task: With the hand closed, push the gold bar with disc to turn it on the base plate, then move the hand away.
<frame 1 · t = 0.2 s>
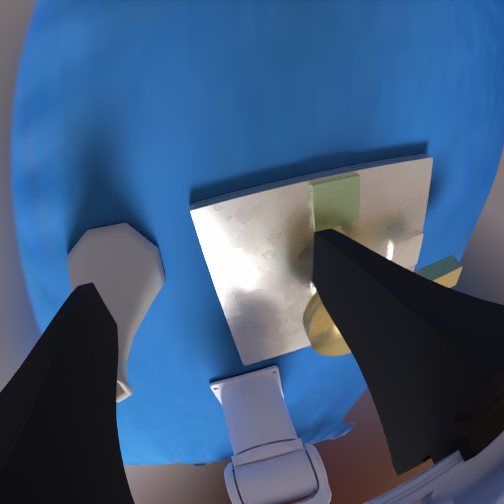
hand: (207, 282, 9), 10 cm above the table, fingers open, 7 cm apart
flask: (116, 264, 20), on the table
gold bar with disc: (382, 286, 22), point 4 cm above the table, hinge at 0.0°
base plate: (329, 268, 24), on the table
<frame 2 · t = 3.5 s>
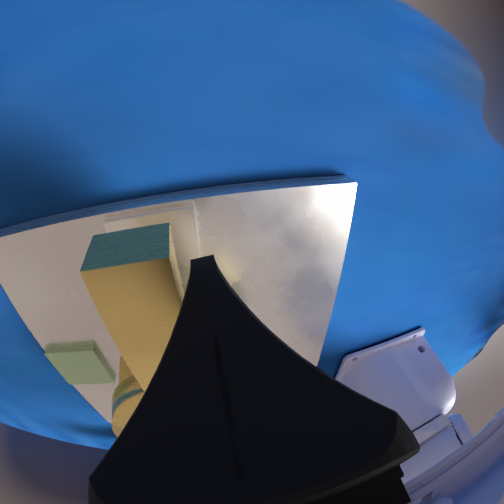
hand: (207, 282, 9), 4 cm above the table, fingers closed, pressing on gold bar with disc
gold bar with disc: (178, 363, 12), point 4 cm above the table, hinge at 0.1°, touching gripper
base plate: (184, 341, 17), on the table
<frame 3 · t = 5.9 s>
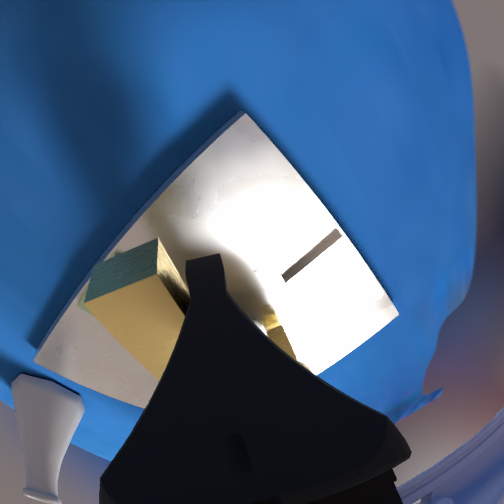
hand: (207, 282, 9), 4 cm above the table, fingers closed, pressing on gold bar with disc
flask: (48, 393, 18), on the table
gold bar with disc: (213, 363, 13), point 4 cm above the table, hinge at 65.6°, touching gripper
base plate: (222, 338, 18), on the table
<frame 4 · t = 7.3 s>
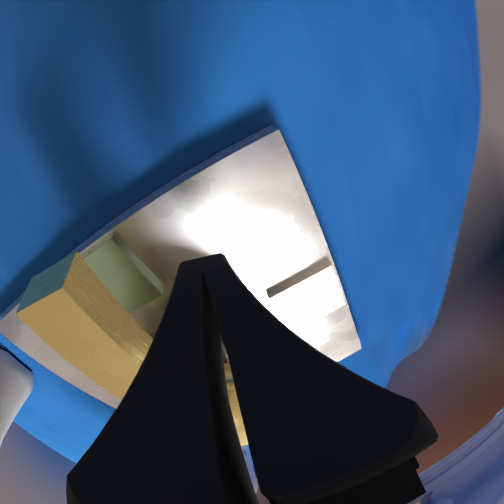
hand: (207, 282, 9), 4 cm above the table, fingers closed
gold bar with disc: (168, 369, 12), point 4 cm above the table, hinge at 83.0°
base plate: (191, 341, 17), on the table
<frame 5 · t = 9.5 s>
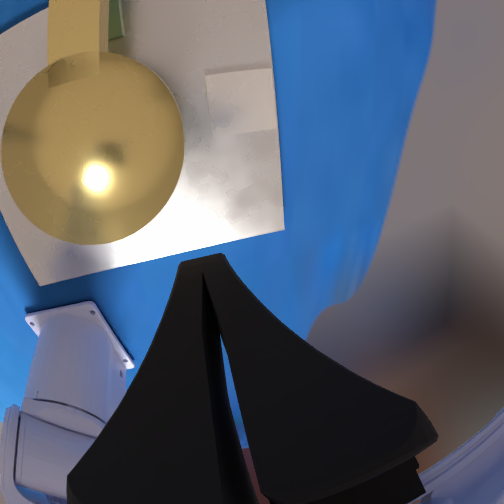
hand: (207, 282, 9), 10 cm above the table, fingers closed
gold bar with disc: (89, 78, 10), point 4 cm above the table, hinge at 83.0°
base plate: (112, 127, 14), on the table
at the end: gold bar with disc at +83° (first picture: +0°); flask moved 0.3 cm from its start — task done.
